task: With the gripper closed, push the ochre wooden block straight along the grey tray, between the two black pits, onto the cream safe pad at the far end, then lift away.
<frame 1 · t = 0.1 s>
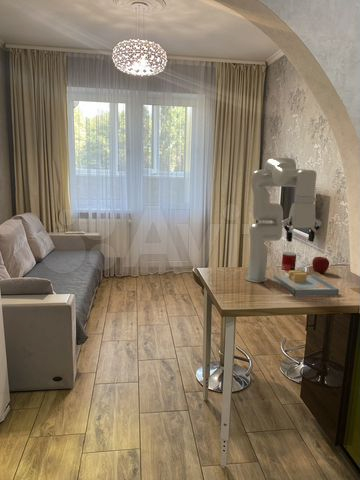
hand: (300, 241, 153), 31 cm above the table, tool pointing down, fingers open, 9 cm apart
block: (297, 280, 200), point 1 cm above the table, touching grey tray
apple: (319, 273, 220), on the table
grey tray: (303, 287, 192), on the table
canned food: (287, 271, 222), on the table
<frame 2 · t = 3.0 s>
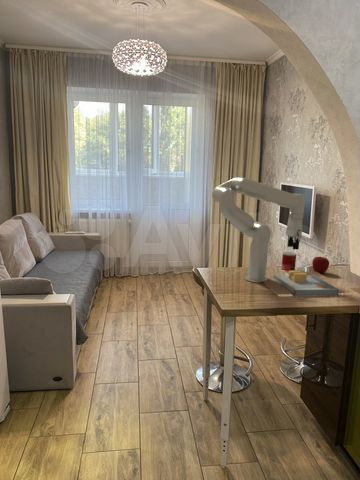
hand: (292, 247, 205), 18 cm above the table, tool pointing down, fingers open, 5 cm apart
nothing on the table moved.
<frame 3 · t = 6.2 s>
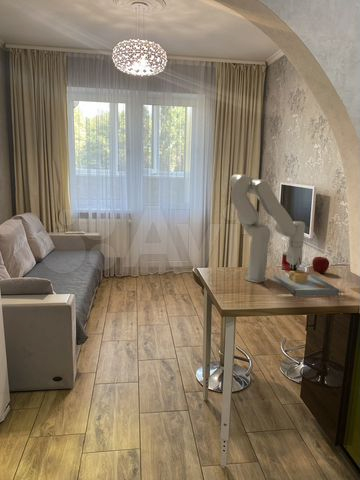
hand: (292, 275, 205), 2 cm above the table, tool pointing down, fingers closed
block: (297, 280, 199), point 1 cm above the table, touching gripper, grey tray
everything else where it was.
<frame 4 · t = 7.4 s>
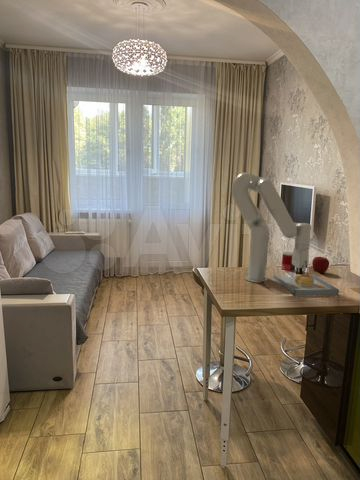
hand: (298, 279, 199), 2 cm above the table, tool pointing down, fingers closed
block: (303, 284, 193), point 1 cm above the table, touching gripper, grey tray
everything else where it was.
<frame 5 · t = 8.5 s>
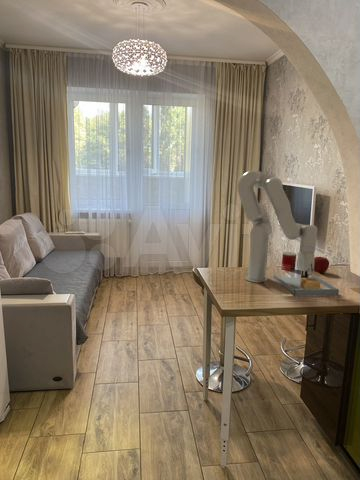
hand: (304, 282, 193), 2 cm above the table, tool pointing down, fingers closed
block: (309, 288, 187), point 1 cm above the table, touching gripper
everything else where it was.
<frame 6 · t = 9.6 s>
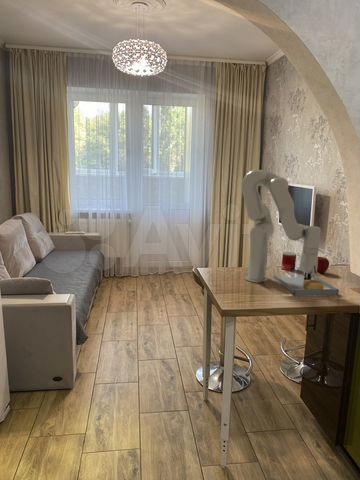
hand: (306, 284, 189), 2 cm above the table, tool pointing down, fingers closed
block: (312, 290, 184), point 1 cm above the table, touching gripper, grey tray
everything else where it was.
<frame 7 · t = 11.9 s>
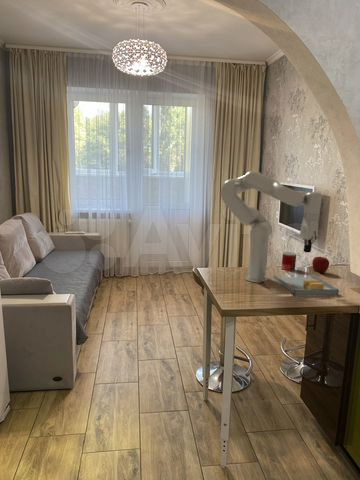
hand: (307, 251, 188), 19 cm above the table, tool pointing down, fingers closed
block: (312, 290, 184), point 1 cm above the table, touching grey tray
everything else where it was.
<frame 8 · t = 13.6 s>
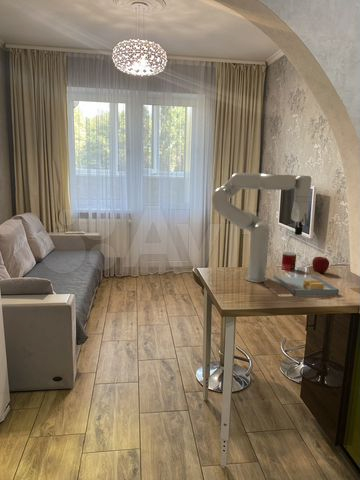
hand: (298, 234, 192), 27 cm above the table, tool pointing down, fingers closed
nothing on the table moved.
at the end: block 1.1 cm from the target spot on the grey tray, point 1.2 cm above the grey tray's base; block tilted 0°; block moved 16.5 cm from its start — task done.
